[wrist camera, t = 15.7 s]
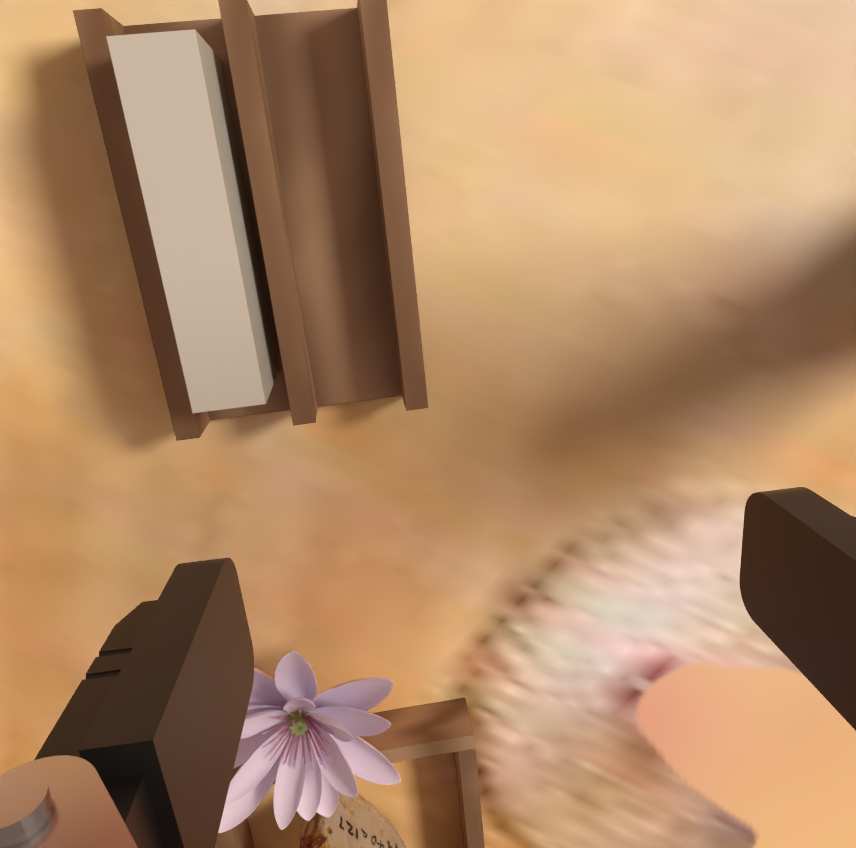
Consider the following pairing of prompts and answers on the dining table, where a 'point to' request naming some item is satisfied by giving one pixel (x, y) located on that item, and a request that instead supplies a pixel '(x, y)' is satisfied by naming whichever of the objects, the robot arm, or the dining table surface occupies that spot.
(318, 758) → the water lily
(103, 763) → the robot arm
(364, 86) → the rack
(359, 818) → the stone disc
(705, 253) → the dining table surface
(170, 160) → the cream rectangular block
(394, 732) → the square wooden tray
